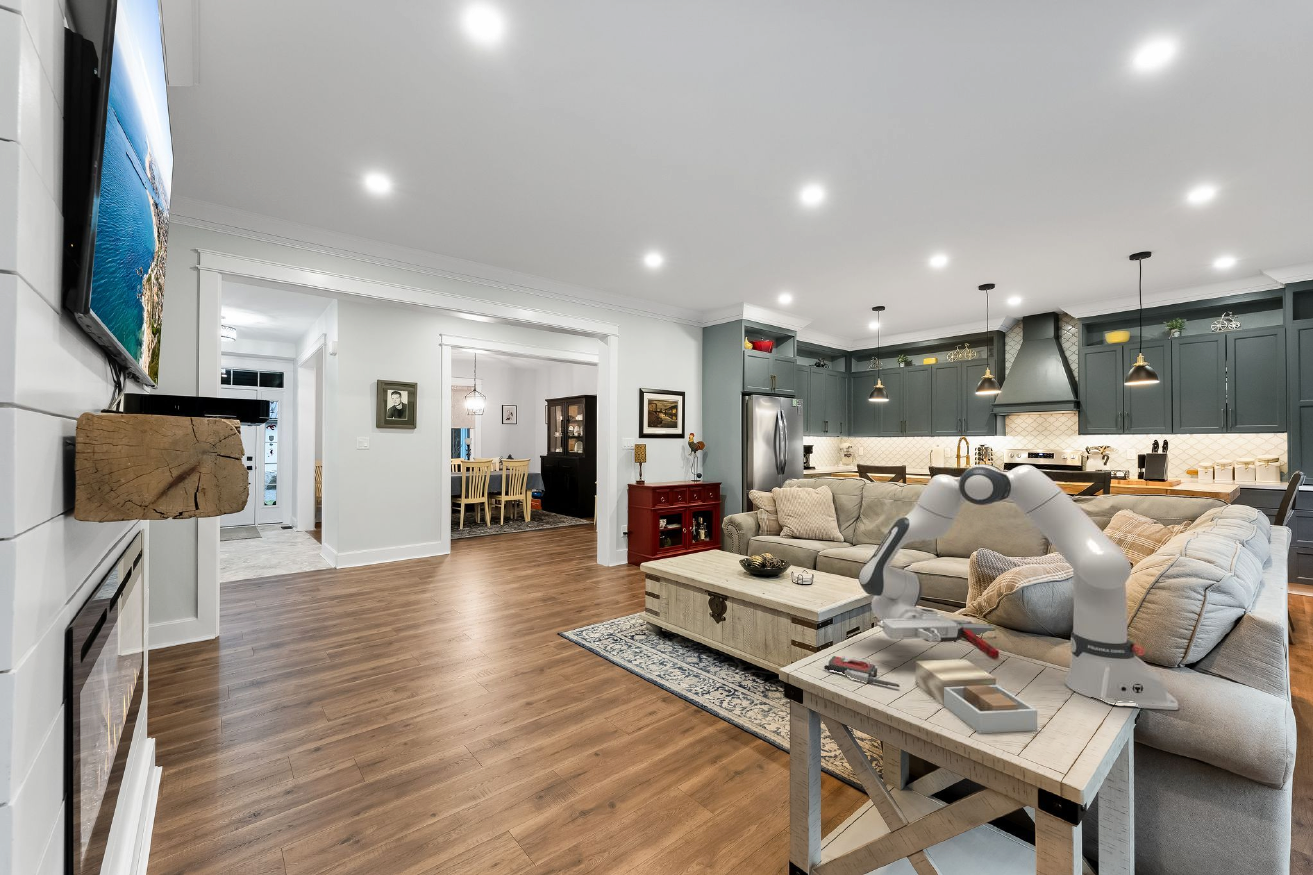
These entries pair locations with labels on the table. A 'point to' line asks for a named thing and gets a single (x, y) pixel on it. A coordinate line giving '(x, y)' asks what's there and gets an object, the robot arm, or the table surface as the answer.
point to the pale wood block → (949, 676)
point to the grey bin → (991, 713)
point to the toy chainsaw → (856, 669)
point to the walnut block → (987, 699)
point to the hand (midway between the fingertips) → (935, 638)
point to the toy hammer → (974, 635)
